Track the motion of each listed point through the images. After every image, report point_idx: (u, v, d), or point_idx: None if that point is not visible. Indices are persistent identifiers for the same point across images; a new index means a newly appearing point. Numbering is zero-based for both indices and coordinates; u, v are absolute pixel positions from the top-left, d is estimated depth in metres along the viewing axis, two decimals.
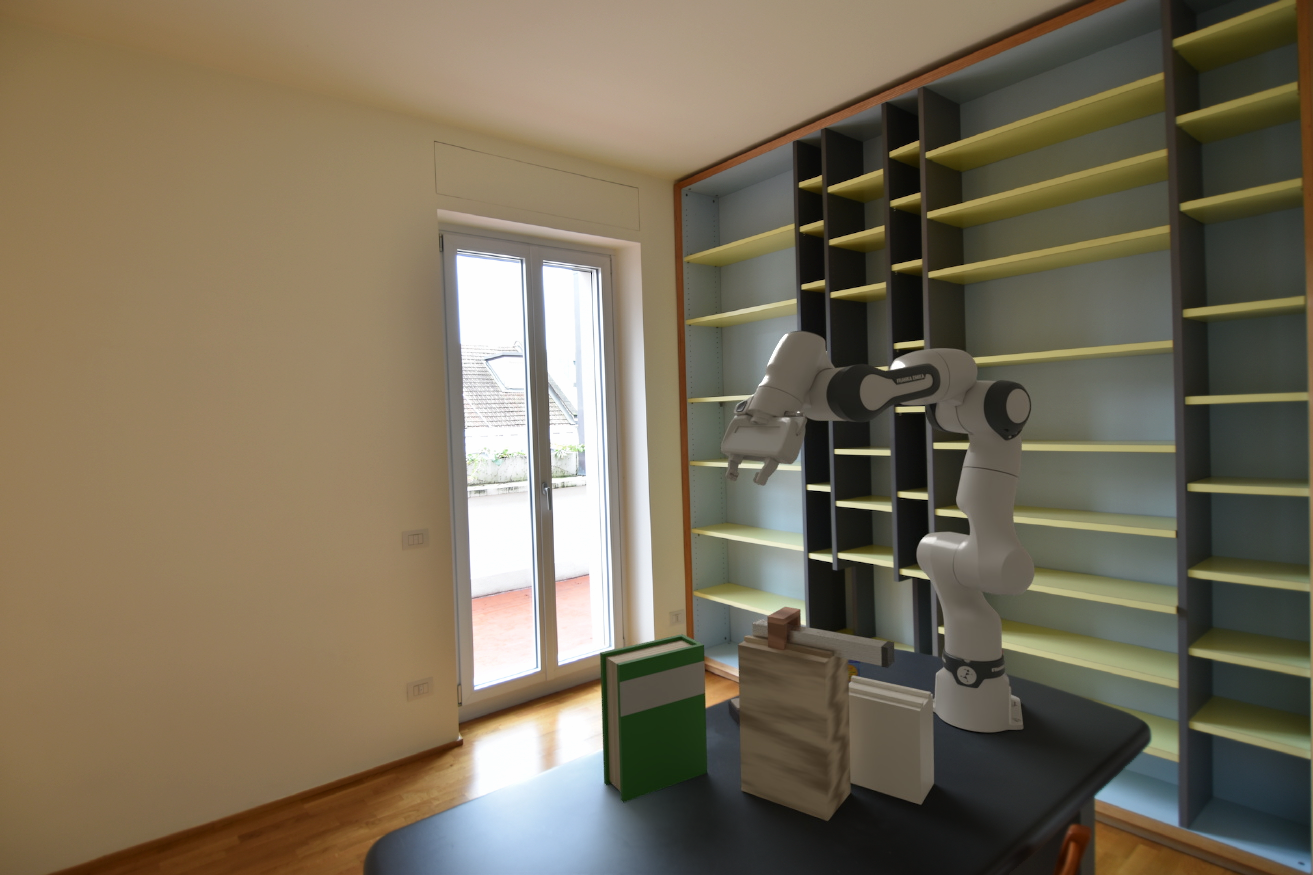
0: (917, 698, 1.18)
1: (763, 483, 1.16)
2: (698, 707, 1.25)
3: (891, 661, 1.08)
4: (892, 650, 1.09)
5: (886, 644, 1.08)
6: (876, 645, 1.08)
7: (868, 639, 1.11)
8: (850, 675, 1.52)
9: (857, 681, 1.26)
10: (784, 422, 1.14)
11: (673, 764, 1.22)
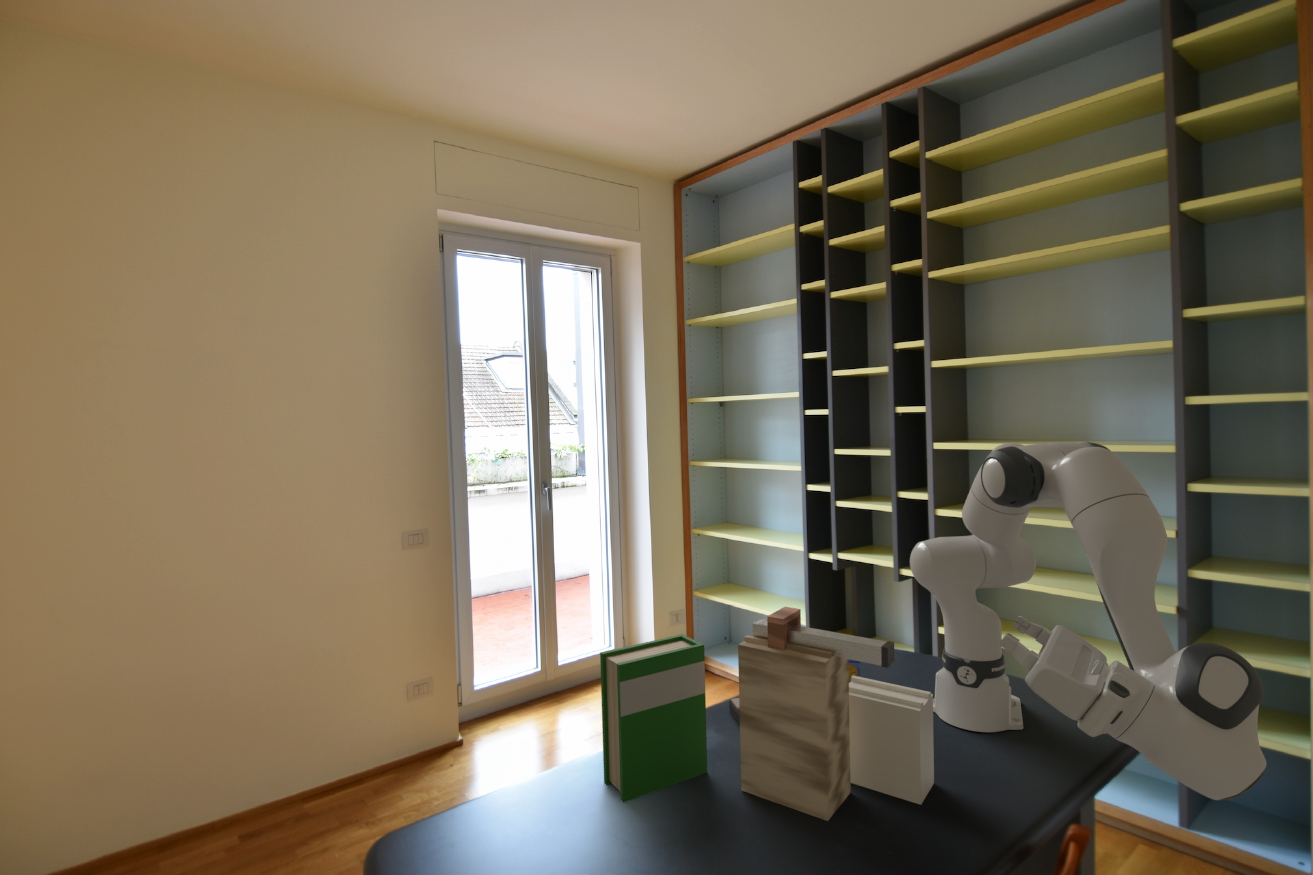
0: (917, 698, 1.18)
1: None
2: (698, 707, 1.25)
3: (891, 661, 1.08)
4: (892, 650, 1.09)
5: (886, 644, 1.08)
6: (876, 645, 1.08)
7: (868, 639, 1.11)
8: (850, 675, 1.52)
9: (857, 681, 1.26)
10: None
11: (673, 764, 1.22)
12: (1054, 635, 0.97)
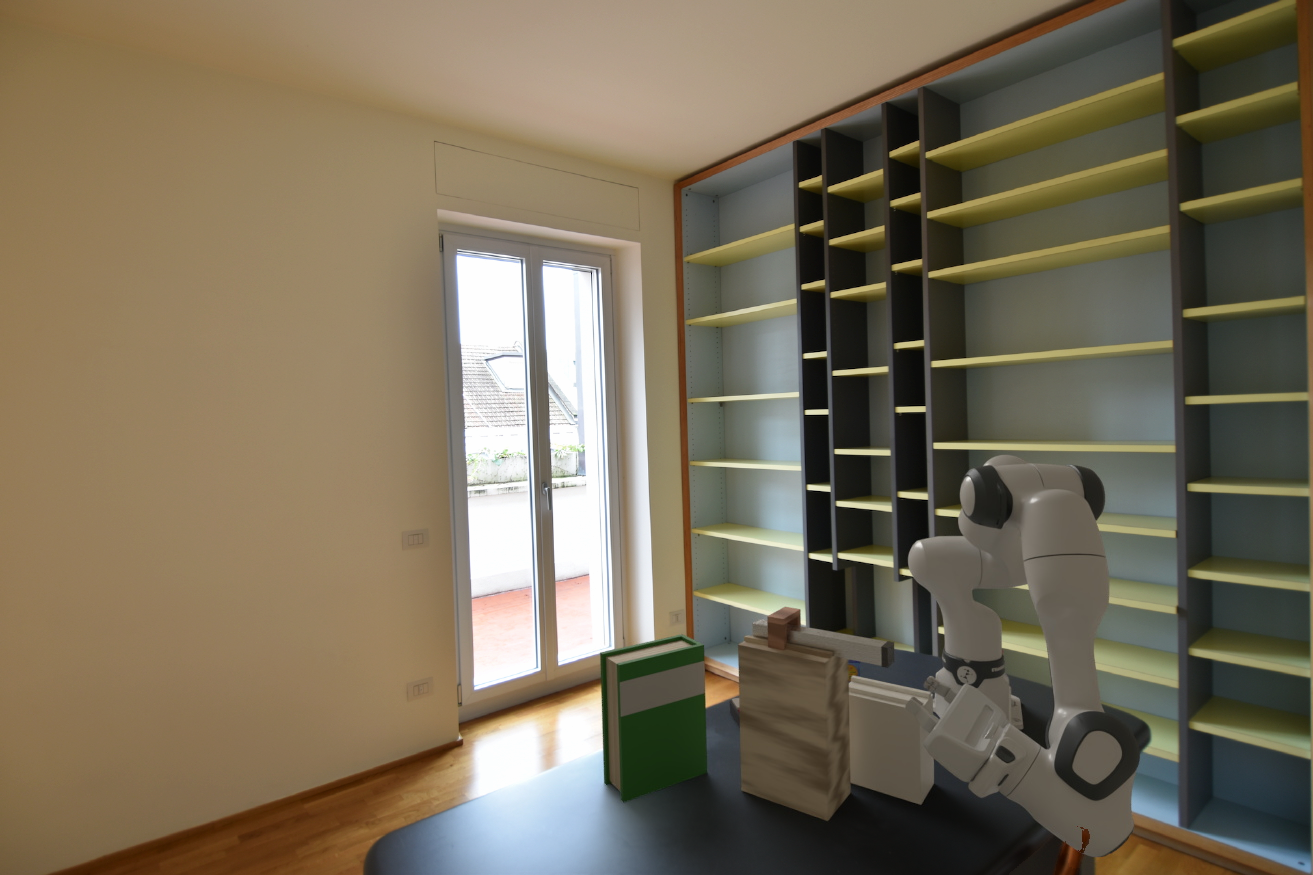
0: (917, 698, 1.18)
1: None
2: (698, 707, 1.25)
3: (891, 661, 1.08)
4: (892, 650, 1.09)
5: (886, 644, 1.08)
6: (876, 645, 1.08)
7: (868, 639, 1.11)
8: (850, 675, 1.52)
9: (857, 681, 1.26)
10: None
11: (673, 764, 1.22)
12: (958, 696, 1.05)
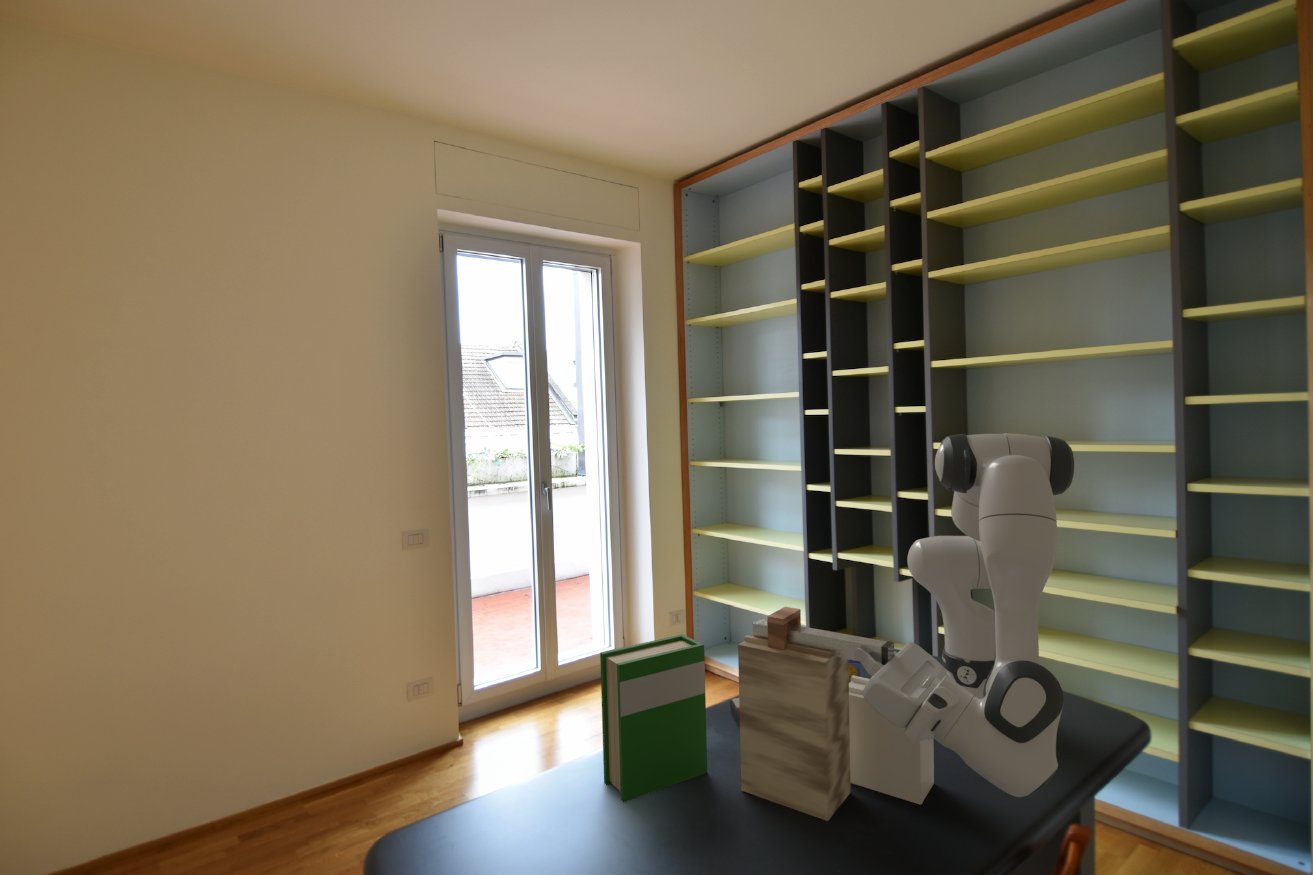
0: None
1: None
2: (698, 707, 1.25)
3: None
4: (892, 650, 1.09)
5: (886, 644, 1.08)
6: (876, 645, 1.08)
7: (868, 639, 1.11)
8: (850, 675, 1.52)
9: (857, 681, 1.26)
10: None
11: (673, 764, 1.22)
12: (901, 652, 1.10)
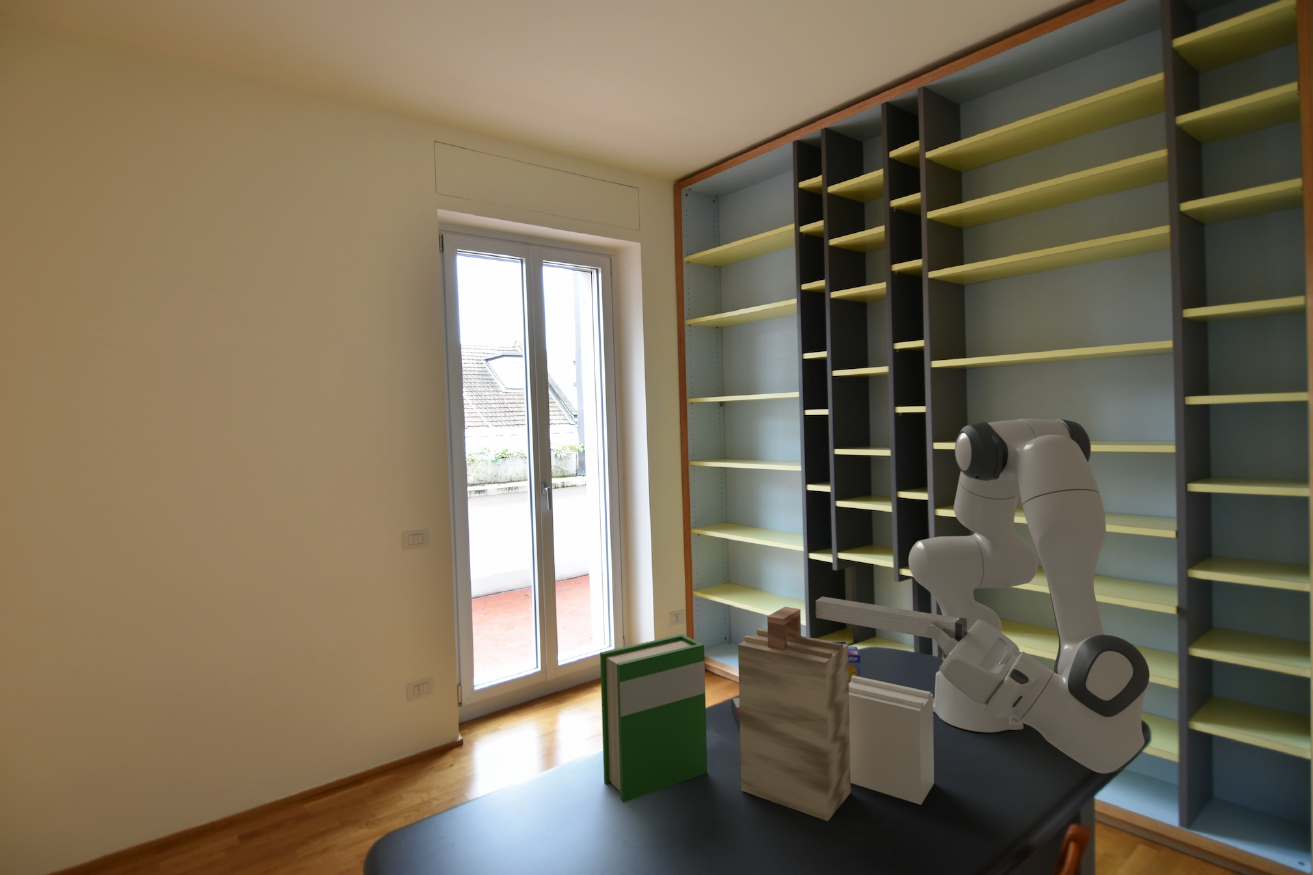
0: (917, 698, 1.18)
1: None
2: (698, 707, 1.25)
3: None
4: (965, 626, 1.07)
5: (959, 620, 1.06)
6: (949, 621, 1.06)
7: (939, 616, 1.09)
8: (850, 675, 1.52)
9: (857, 681, 1.26)
10: None
11: (673, 764, 1.22)
12: (973, 629, 1.09)
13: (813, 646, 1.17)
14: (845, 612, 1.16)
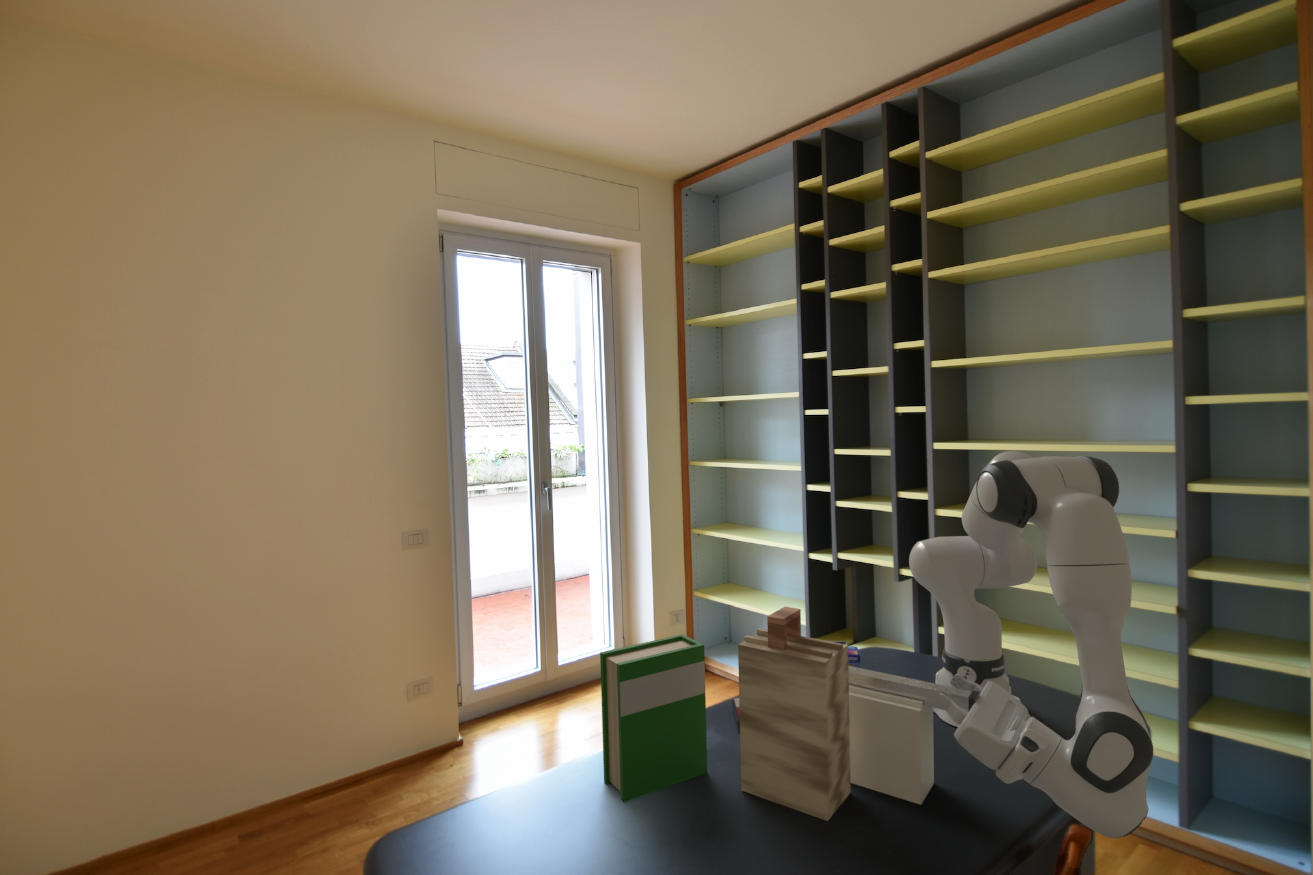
0: None
1: None
2: (698, 707, 1.25)
3: None
4: None
5: (972, 694, 1.12)
6: (962, 695, 1.12)
7: (953, 688, 1.15)
8: None
9: None
10: None
11: (673, 764, 1.22)
12: (984, 692, 1.14)
13: (813, 646, 1.17)
14: (862, 682, 1.22)
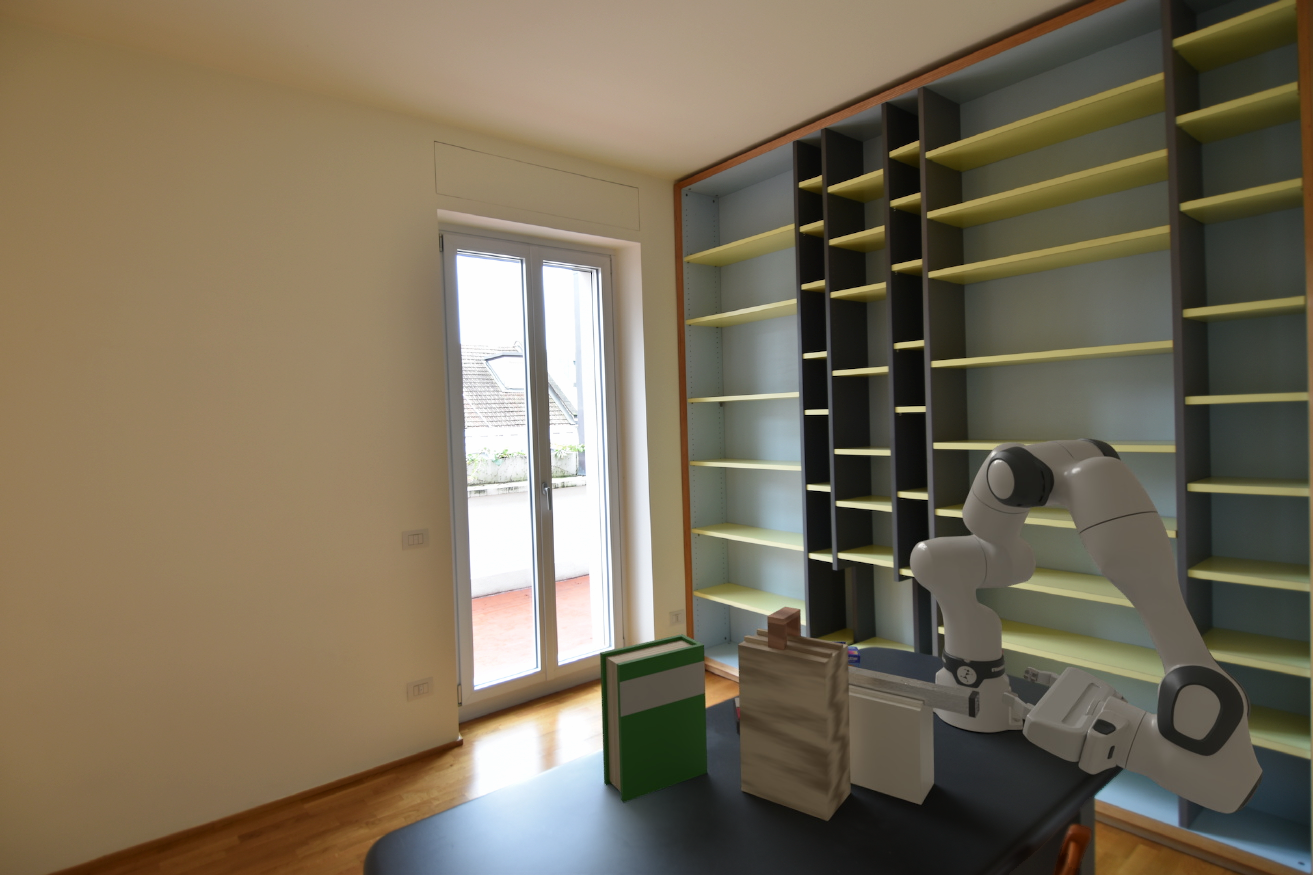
0: None
1: None
2: (698, 707, 1.25)
3: (977, 711, 1.12)
4: (978, 700, 1.13)
5: (972, 694, 1.12)
6: (962, 695, 1.12)
7: (953, 688, 1.15)
8: None
9: None
10: None
11: (673, 764, 1.22)
12: (1058, 680, 1.08)
13: (813, 646, 1.17)
14: (862, 682, 1.22)
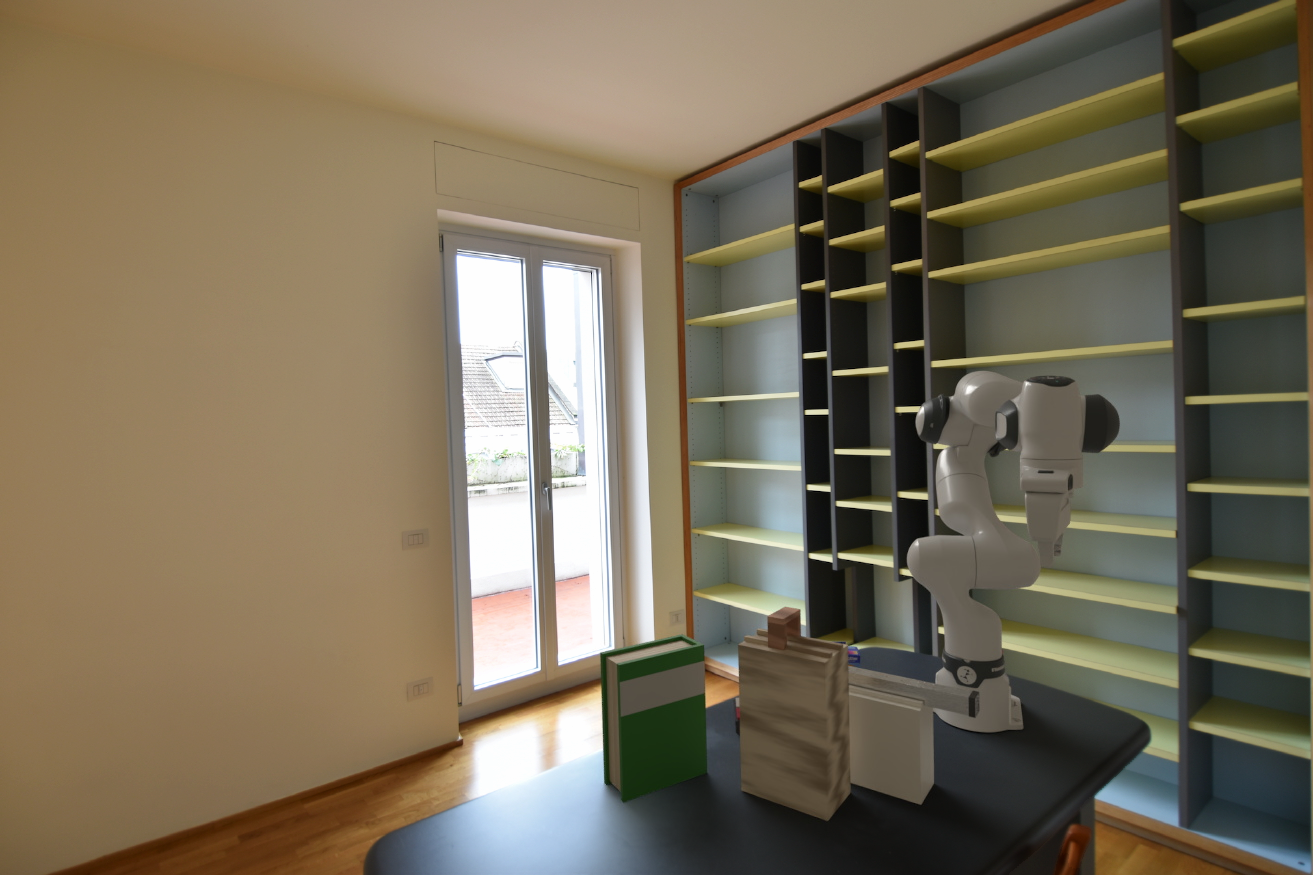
0: None
1: None
2: (698, 707, 1.25)
3: (977, 711, 1.12)
4: (978, 700, 1.13)
5: (972, 694, 1.12)
6: (962, 695, 1.12)
7: (953, 688, 1.15)
8: None
9: None
10: None
11: (673, 764, 1.22)
12: None
13: (813, 646, 1.17)
14: (862, 682, 1.22)
